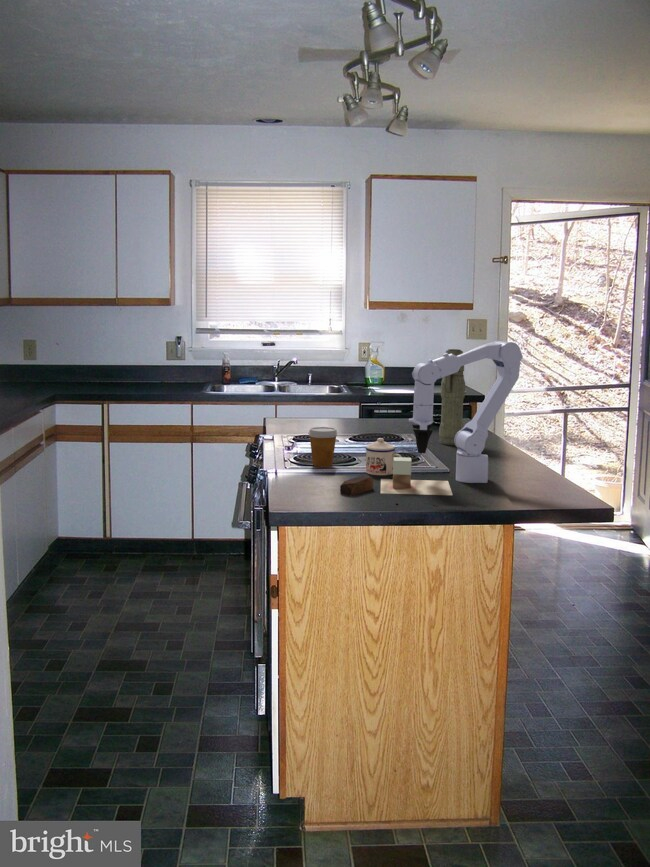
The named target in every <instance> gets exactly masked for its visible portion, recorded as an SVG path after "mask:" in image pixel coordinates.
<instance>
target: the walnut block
mask: <svg viewBox="0 0 650 867" xmlns="http://www.w3.org/2000/svg"><path fill="white" fill-rule="evenodd" d="M411 477H412V474H411V475H399V474H392V479H393V488H408V489H410V487H411V480H412V478H411Z"/></svg>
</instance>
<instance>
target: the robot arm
mask: <svg viewBox="0 0 650 867" xmlns="http://www.w3.org/2000/svg"><path fill="white" fill-rule="evenodd" d="M521 350H522V349H521V347H520V346H519V345H518V344H517V342H513V341H505V340H500V339H499V340H495V341H493V342H487V343H484V344H481V345H480V346H477V347H475V348H472V349H471V350H467V351H466V352H463V353H462V354H460V355H458V356H455V355H453V354H448V353H446V352H444V353H442V356H441V357H438V358H436V359H431V358H430V359H428V360H427V363H425V362H421V363H420V362H419V363H418V364H416V365H415V366H414V367H413V371H412V372H411V375H412V378H413V380H414V390H413V407H412V408H413V410H412V418H408V422H410V423H412V425H411V426H412V430H413V433H414V436H415V443H416V449H417V453H418V454H426V452H427V448H428V445H429V441H430V440H429V439H430V438H431V436H432V434H433V429H431V428H432V424H433V423H434V418H433V417H434V416H433V415H434V397H435V396H434V394H435V383H436V381H437V380H440V379H443V377H445V376H448V375H451V374H453V373H456V372H458V370H459V369H460V367H461V366H463V365H464V366H466V365H468V364H471V363H475V362H478V361H481V360H484V359H487V360H488V359H489V360H492V361H493V363H494V364H495V366H496V370H497V371H498V376H497V378H496V380H495V381H494V383H493V385H492V387H491V388H490V390H489V391H488V393H487V394H486V396H485V398H484V400H483V401H482V402H481V405H480V406H479V408H478V409H477V411H476V412H475V414H474V415H473V418H472V419H471V420H470V421H468V422H467V423H465V424H464V425H463V429H462V430H460V431H459V432H457V434H456V435H455V438H454V443H455V445H454V446H455V447H456V448H457V449H456V461H455V463H456V464H455V481H457V482H460V483H468V484H474V483H476V484H479V483H480V484H481V483H482V484H487V483H488V480H489V479H488V478H489V456H488V454H482V453H483V451H484V449H485V446H486V440H487V439H488V436H489V431H488V430H489V428H490V426H491V424H492V422H493V420H494V419H495V417H496V416H497V414H498V412H499V410H500V409H501V407H503V405H504V403H505V401H506V400H507V399H508V396H509V394H510V393H511V391H512V390H513V388H514V387H515V385H516V384H517V381H518V379H519V377H520V370H521V368H520V367H521V361H522V359H523V358H524V357H523V356H524V355H523V353H522V351H521Z"/></svg>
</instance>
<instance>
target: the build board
mask: <svg viewBox="0 0 650 867" xmlns="http://www.w3.org/2000/svg"><path fill="white" fill-rule="evenodd" d="M380 494H389V495H390V494H392V495H393V494H394V495H395V494H397V495H423V496H424V495H425V496H426V495H428V496H430V495H431V496H453V492H452V488H451V486H450V483H449V481H448V480H430V479H428V480H427V479H424V480H423V479H411V487H410V489H408V488H393V478H392V479H391V478H380Z"/></svg>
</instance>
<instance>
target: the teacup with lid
mask: <svg viewBox="0 0 650 867" xmlns="http://www.w3.org/2000/svg"><path fill="white" fill-rule="evenodd" d="M384 440H385V439H384V438H383V437H379V438H377V440H376V441H374V442H372V443H370V444H367V445H366V446H365V450H366V452H365V455H366V456H365V473H366V474H368V475H372V476H389V475H393V466H394V457H403V456H402V455H401V454H399V453H395V450H396V447H395V446H394V445H393V444H390V443H388V442H387V441H384Z"/></svg>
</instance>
